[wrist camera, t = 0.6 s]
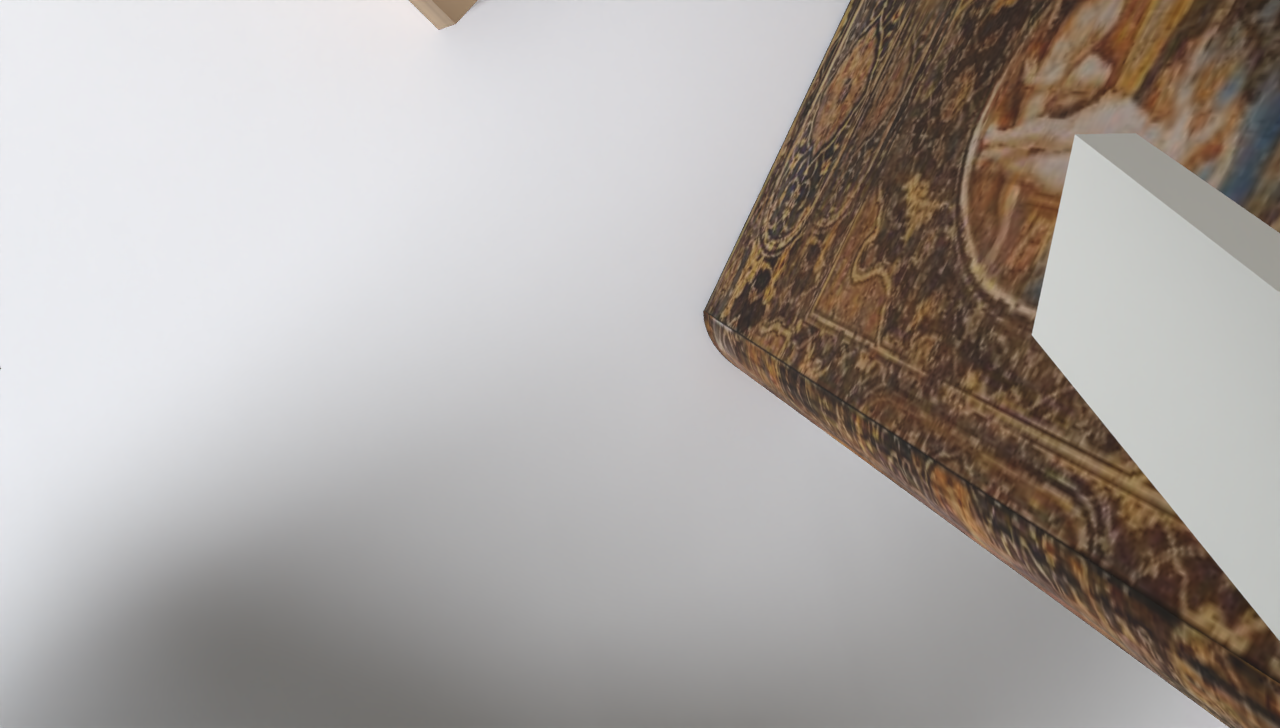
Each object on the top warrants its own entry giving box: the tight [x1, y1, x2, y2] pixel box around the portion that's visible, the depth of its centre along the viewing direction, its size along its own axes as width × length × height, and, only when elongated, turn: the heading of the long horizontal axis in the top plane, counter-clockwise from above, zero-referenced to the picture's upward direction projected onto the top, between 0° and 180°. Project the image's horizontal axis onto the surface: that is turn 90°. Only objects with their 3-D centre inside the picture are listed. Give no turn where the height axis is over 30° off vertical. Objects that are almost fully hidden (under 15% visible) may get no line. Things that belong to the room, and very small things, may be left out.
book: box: [703, 0, 1280, 728], centre depth 24 cm, size 16×6×25 cm, turn 153°
